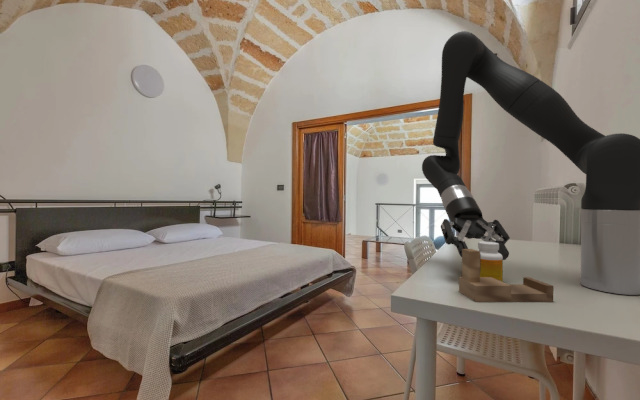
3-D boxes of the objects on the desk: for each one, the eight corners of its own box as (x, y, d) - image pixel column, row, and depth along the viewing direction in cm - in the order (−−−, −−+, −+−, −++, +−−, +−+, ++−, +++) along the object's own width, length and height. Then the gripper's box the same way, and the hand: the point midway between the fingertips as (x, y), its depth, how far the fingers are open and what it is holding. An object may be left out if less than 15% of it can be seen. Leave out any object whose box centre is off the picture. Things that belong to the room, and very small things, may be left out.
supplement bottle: (508, 290, 59) (508, 244, 59) (482, 290, 59) (483, 244, 59) (493, 283, 64) (493, 241, 64) (469, 282, 64) (469, 240, 64)
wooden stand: (529, 291, 58) (529, 248, 58) (553, 301, 52) (553, 254, 52) (459, 291, 58) (459, 248, 58) (475, 301, 52) (475, 253, 52)
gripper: (438, 195, 71) (461, 248, 59) (493, 195, 71) (527, 248, 59) (429, 214, 76) (449, 266, 64) (480, 215, 76) (509, 267, 65)
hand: (486, 258), depth 62 cm, fingers open, 8 cm apart
